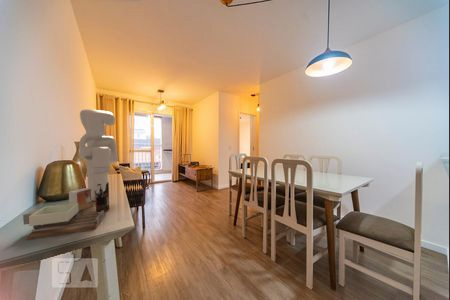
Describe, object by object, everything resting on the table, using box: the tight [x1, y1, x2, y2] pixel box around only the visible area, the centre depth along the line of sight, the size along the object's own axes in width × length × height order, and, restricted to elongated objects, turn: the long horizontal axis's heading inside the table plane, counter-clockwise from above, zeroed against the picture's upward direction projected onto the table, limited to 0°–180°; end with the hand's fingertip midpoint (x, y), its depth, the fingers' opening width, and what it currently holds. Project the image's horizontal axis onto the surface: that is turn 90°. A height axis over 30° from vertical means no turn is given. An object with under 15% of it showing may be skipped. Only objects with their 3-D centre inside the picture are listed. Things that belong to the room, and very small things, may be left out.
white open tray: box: [22, 203, 80, 229], centre depth 72 cm, size 10×15×6 cm, turn 112°
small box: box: [68, 187, 92, 212], centre depth 93 cm, size 8×6×10 cm
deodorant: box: [95, 182, 110, 213], centre depth 91 cm, size 6×6×15 cm
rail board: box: [25, 210, 106, 241], centre depth 75 cm, size 14×22×4 cm, turn 112°
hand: (102, 202), depth 91 cm, fingers closed on deodorant, 5 cm apart
